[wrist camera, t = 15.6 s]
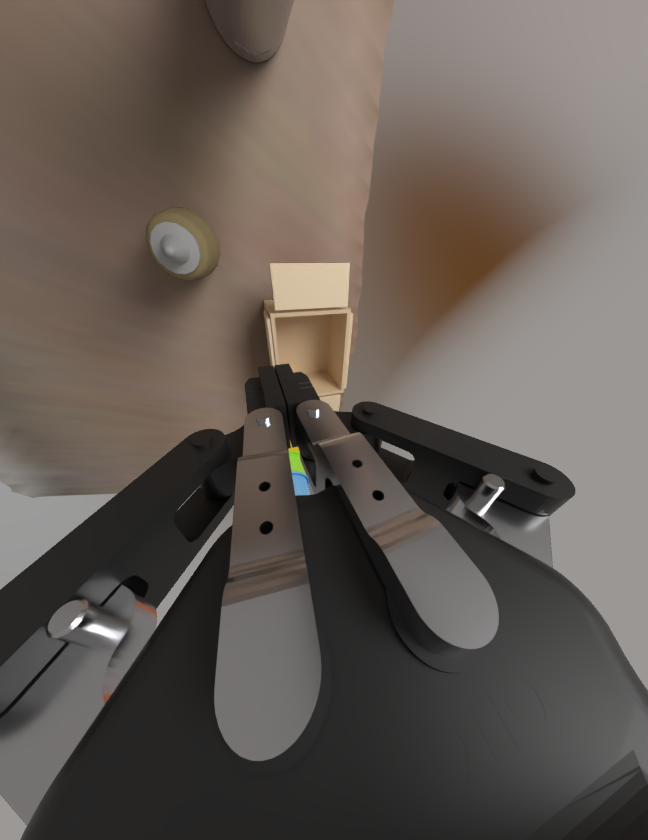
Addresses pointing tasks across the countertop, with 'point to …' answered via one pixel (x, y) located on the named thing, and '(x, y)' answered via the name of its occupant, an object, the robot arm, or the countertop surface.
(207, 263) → the squeeze bottle
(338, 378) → the carton
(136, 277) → the countertop surface
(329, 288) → the flap
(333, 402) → the flap
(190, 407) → the countertop surface
